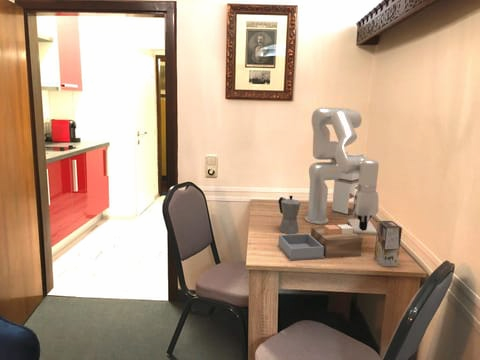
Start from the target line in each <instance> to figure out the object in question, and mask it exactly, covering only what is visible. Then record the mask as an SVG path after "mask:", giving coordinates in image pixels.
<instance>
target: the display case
mask: <svg viewBox="0 0 480 360" xmlns="http://www.w3.org/2000/svg"><path fill="white" fill-rule="evenodd" d="M345 153H346V155H347V157H365V153H357V154H350V153H349V151H346V150H345ZM358 180H359V174H344V173H342V175H341V177H340V178H339V179H337V180H333V182H334V183H333V192H332V194H333V195H332V207H331V214H332V213H333V214H332V215H336V214H337V215H336V216H339V215H341V216H340V217H343V216H344V218H347V217H348V218H349V219H350V218H352V217H353V216H352V215H353V211H352V208H349V207H350V206H349V205H350V199H354V197H355V193H356V189H355V187H356V186H358ZM348 218H347V219H348Z"/></svg>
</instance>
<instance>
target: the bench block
mask: <svg viewBox="0 0 480 360" xmlns="http://www.w3.org/2000/svg"><path fill="white" fill-rule="evenodd" d="M310 229H311V230H310V235H311V236H312V237H313V238H314V239H316V240H317V241H318V242H319V243H320V244H321V245H322V246H323V247H324V254H323V259H338V258H339V259H340V258H350V257H361V256H362V248H363V237H362V236H361V235H360V234H358V233H355V232H353V234H341V233H340V234H336V235H329V234H327V233H326V232H325V231H324V226H311V228H310Z"/></svg>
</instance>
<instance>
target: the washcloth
mask: <svg viewBox="0 0 480 360" xmlns="http://www.w3.org/2000/svg"><path fill="white" fill-rule="evenodd" d="M359 222H360V220H359V219H358V218H357V219H356V218H355V219H354V218H349V219H348V220H347V224H349V226H351V227H353V232H355V233H356V234H358V235H360V234H364V235H377V229H376V227H374V225H373V223H372V222H371V221H370V220H369V221H368V224H367V229H366V230H364V231H362V230H361V229H360V228H359Z"/></svg>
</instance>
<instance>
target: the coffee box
mask: <svg viewBox="0 0 480 360" xmlns="http://www.w3.org/2000/svg"><path fill="white" fill-rule="evenodd" d="M376 227H377V229H376V231H377V234H375V235H376V236H375V245H374V247H375V249H374V258H373V259H375V260H376V261H377V262H378V263H379V265H381V266H382V267H398V266H399V265H398V264H399V257H400V248H401V241H402V232H403V227H401V226H400V225H398V224H397V223H395V221H393V220H377V226H376Z"/></svg>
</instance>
